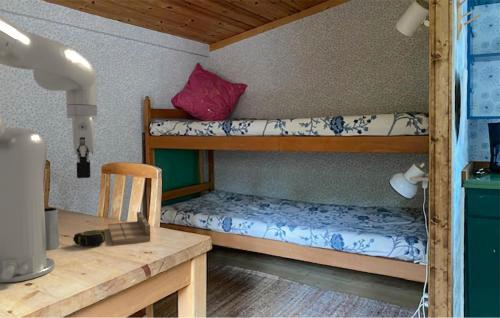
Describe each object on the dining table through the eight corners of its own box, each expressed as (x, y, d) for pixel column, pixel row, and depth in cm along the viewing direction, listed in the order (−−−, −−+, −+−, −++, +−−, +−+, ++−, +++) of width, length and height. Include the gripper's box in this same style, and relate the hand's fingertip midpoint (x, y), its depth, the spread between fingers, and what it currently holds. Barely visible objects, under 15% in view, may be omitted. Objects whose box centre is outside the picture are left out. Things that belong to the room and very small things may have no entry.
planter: (40, 246, 100) (38, 208, 99) (58, 244, 102) (57, 207, 101) (39, 251, 96) (37, 212, 95) (59, 248, 98) (57, 210, 97)
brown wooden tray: (150, 241, 105) (150, 225, 105) (112, 245, 101) (112, 229, 101) (141, 225, 122) (140, 211, 122) (108, 228, 118) (108, 214, 118)
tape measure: (97, 240, 106) (96, 227, 106) (110, 244, 102) (109, 231, 102) (73, 246, 101) (72, 232, 101) (85, 251, 97) (85, 237, 96)
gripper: (98, 111, 94) (99, 178, 95) (96, 114, 109) (97, 172, 111) (65, 110, 91) (67, 180, 92) (68, 114, 106) (69, 173, 108)
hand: (83, 175), depth 101 cm, fingers open, 9 cm apart
